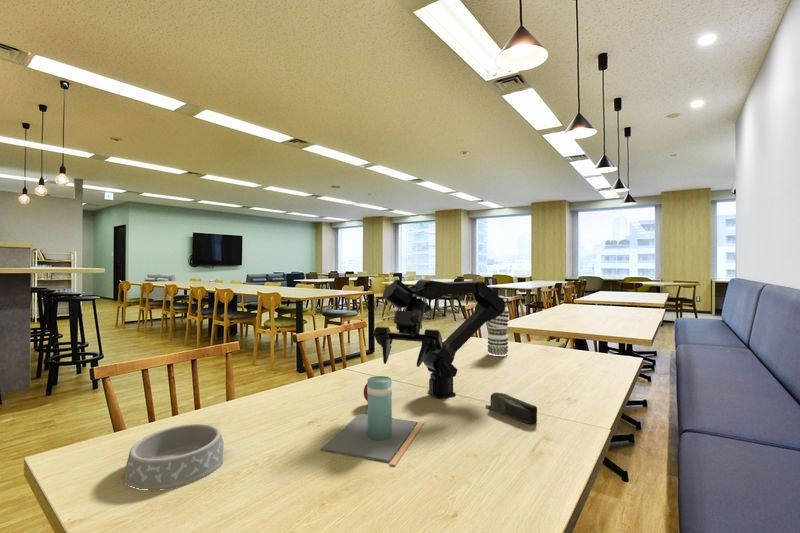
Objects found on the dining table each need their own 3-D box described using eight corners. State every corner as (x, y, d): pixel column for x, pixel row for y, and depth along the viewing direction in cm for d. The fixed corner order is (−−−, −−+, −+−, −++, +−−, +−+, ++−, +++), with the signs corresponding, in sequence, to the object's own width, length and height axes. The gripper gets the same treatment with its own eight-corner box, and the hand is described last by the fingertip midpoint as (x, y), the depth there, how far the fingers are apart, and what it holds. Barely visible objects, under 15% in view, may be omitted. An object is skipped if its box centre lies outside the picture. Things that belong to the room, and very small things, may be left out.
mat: (417, 423, 99) (417, 421, 99) (389, 462, 81) (389, 460, 81) (359, 415, 105) (359, 413, 105) (320, 450, 86) (320, 448, 86)
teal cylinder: (386, 428, 96) (386, 374, 96) (395, 437, 91) (395, 381, 90) (364, 432, 94) (363, 377, 93) (372, 442, 88) (371, 384, 88)
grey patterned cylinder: (487, 356, 165) (487, 297, 165) (486, 351, 174) (486, 294, 174) (509, 357, 164) (510, 297, 163) (507, 352, 173) (507, 295, 172)
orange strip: (420, 421, 100) (420, 420, 100) (424, 422, 100) (424, 421, 100) (389, 465, 79) (389, 463, 79) (395, 466, 79) (395, 464, 79)
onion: (381, 409, 108) (380, 380, 108) (360, 408, 110) (360, 379, 109) (386, 402, 114) (386, 374, 114) (366, 400, 115) (366, 373, 115)
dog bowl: (115, 502, 68) (114, 471, 68) (137, 453, 85) (137, 429, 85) (223, 479, 75) (223, 451, 75) (224, 439, 92) (223, 416, 92)
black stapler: (539, 404, 99) (490, 388, 111) (532, 407, 97) (484, 390, 109) (538, 424, 99) (490, 405, 111) (531, 427, 98) (483, 408, 109)
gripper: (375, 298, 112) (359, 345, 101) (440, 300, 105) (429, 350, 95) (385, 321, 119) (371, 367, 109) (446, 324, 113) (437, 373, 103)
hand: (400, 364), depth 104 cm, fingers open, 9 cm apart
